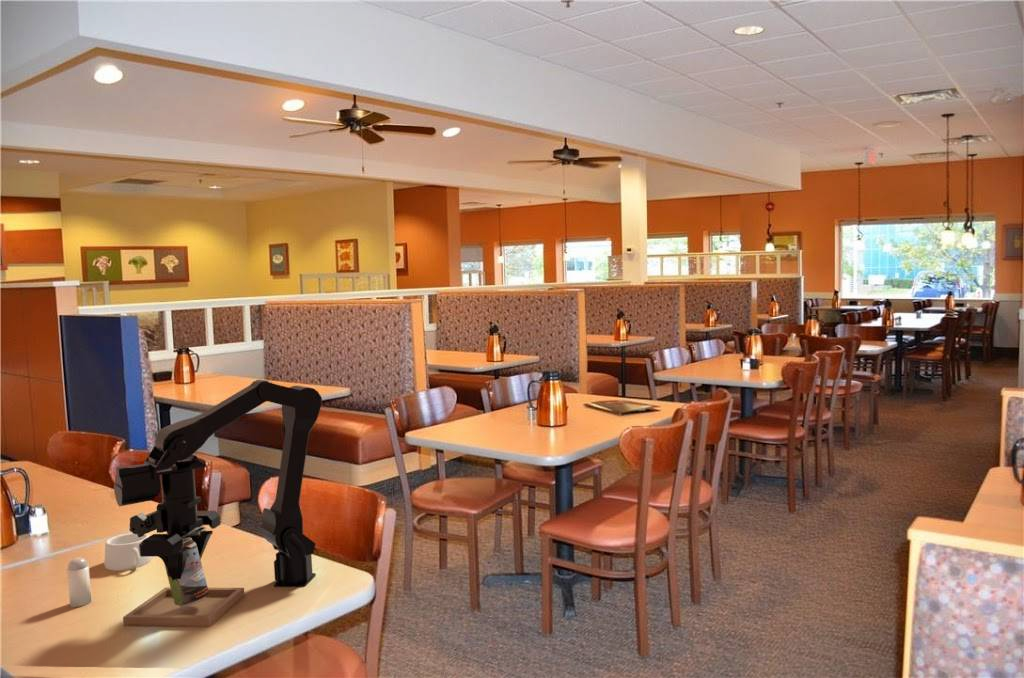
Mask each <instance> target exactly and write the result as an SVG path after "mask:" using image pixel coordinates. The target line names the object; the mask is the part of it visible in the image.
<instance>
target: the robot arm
mask: <svg viewBox="0 0 1024 678" xmlns="http://www.w3.org/2000/svg"><path fill="white" fill-rule="evenodd" d="M266 402H267V403H268V402H269V403H273V404H277V405H281V415H282V420H283V424H284V427H285V428H284V429H285V432H284V438H283V439H284V440H283V447H282V453H281V459H280V465H279V466H280V467H279V471H278V472H279V473H278V480H277V487H276V492H275V493H276V494H275V499H274V502H273V503H272V505H271V506H270V508H265V507H264V508H263V510H262V520H261V521H262V522H261V524H260V526H259V529H261V530H262V536H263V538H264V539H265V540H266V542H268V543H270V544H272V547H273V549H274V550H275V551H278V552H276V553H275V560H274V561H273V568H274V569H273V572H274V581H275V583H274V584H273V587H275V588H304V587H307V585H309V583H311V581H312V580H313V579H315V578H316V576H317V574H316V573H315V572H314V573H313V560H312V558H313V557H312V555H313V554H314V552H315V547H316V543H315V541H313V540H312V539H310V538H309V537H307V536H306V535H305V534H304V517H303V514H302V510H301V506H300V505H301V504H300V499H301V492H302V485H303V479H304V473H305V471H304V470H305V464H306V456H307V453H308V443H309V436H310V432H311V431H312V428H313V427H314V425H315V424H316V423H317V420H318V418H319V415H320V412H321V409H322V404H323V398H322V396H321V394H320V393H319V391H318V390H316V389H315V388H313V387H309V386H303V385H292V386H290V387H288V386H284V385H280V384H276V383H273V382H271V381H270V380H263V379H256V380H253V382H251V383H250V385H247V386H246V387H245V388H243V389H241V390H239V391H237V392H236V393H235V394H232V395H230V396H229V397H227V398H226V399H224V400H222V401H220V402H219V403H218V404H215V405H214V406H212V407H211V408H209V409H208V410H206V411H204V412H202V413H200V414H198V415H196V416H193V417H190V418H186V419H183V420H180V421H177V422H174V423H171V424H169V425H167V426H165V427H162V428H160V430H158V432H157V433H156V436H155V439H154V446H153V448H152V449H150V452H149V454H148V455H147V457H146V458H145V460H144V461H143V462H144V463H141V464H136V465H135V464H134V465H131V466H130V465H127V466H126V465H122V466H116V468H115V470H116V475H115V478H114V484H113V490H114V497H115V500H116V504H117V505H118V507H125V506H129V505H134V504H139V503H140V504H141V503H145V502H151V501H155V498H156V497H158V496H159V495H160V493H161V500H162V501H161V502H159V503H157V505H156V510H154V511H152V512H149V513H148V514H144V513H143V512H140V513H138V514H135V515H133V516H132V517H130V518H129V532H130V533H133V534H137V535H138V537H142V536H144V534H148V533H151V532H154V531H155V530H156V533H152V534H151V535H149V537H148V538H146V539H144V540H143V541H142V542H141V543H140V544H139V554H140V556H141V557H147V556H153V557H158V558H160V559H161V560H162V562H163V564H164V566H165V565H166V567H167V569H168V572H169V574H170V576H171V578H172V580H175V579H181V576H182V573H183V571H184V568H185V563H186V559H187V554H188V550H189V547H183V541H182V540H183V538H188V537H191V538H192V540H193V541H194V542H195V543H196V544H197V548H198V552H199V556H200V560H202V557H203V554H204V552H205V550H206V548H207V545H208V542H209V540H210V538H211V536H212V535H213V532H214V531H213V530H207V529H206V527H204V526H209V527H210V529H216V528H218V527H219V526H220V525H221V523H222V522H221V515H220V514H219V513H218V512H217V511H216V510H198V504H200V503H202V497H201V496H197V493H196V492H197V491H196V479H195V477H196V476H195V470H198V469H201V468H202V469H203V468H206V466H207V465H206V463H205V462H203V461H202V460H200V459H199V457H198V456H197V455H195V453H197V451H198V450H200V449H201V448H202V447H203V446H204V445H205V444H206V442H207V441H209V438H210V437H212V436H213V435H214V434H215V433H217V432H219V431H220V430H222V429H224V428H225V427H227V426H228V425H230V424H232V423H233V422H235V421H236V420H238V419H240V418H241V417H242V416H243V417H244V415H246V414H249V412H251V411H252V410H254V409H256V408H258V407H259V406H260V405H263V404H264V403H266Z"/></svg>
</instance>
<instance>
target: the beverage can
mask: <svg viewBox="0 0 1024 678" xmlns="http://www.w3.org/2000/svg"><path fill="white" fill-rule="evenodd" d="M182 541H183V547H189V550H188V554H187V559H186V563H185V568H184V571H183V573H182V576H181V579H175V580H172V578H171V576H170V574H169V572H168V569H167V567H166V565H165V564H164V568H165V572H166V576H167V580H168V584H169V586H170V588H171V591H172V595H173V599H174V603H175V605H180V607H186V606H190V605H193V604H196V603H199V602H201V601H202V600H204V599H205V598H206V596H207V595H208V593H209V590H208V588H209V587H208V583H207V579H206V576H205V572H204V568H203V563H202V561H201V560H202V559H201V560H200V556H199V552H198V548H197V544H196V543H195V542H194V541H193V540H192V538H191V537H188V538H183V540H182Z"/></svg>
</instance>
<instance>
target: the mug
mask: <svg viewBox="0 0 1024 678" xmlns="http://www.w3.org/2000/svg"><path fill="white" fill-rule="evenodd" d="M149 536H150V534H148V533H146V534H144V536H142V537H138V535H137V534H133V533H132V532H130V533H125V534H119V535H116V536H112V537H111V538H109V539H107V540H106V541H105V543H104V560H103V562H104V568H105V569H106V570H109V571H114V572H115V571H118V572H119V571H120V572H121V571H129V570H133V569H137V568H142V567H144V566H145V565H148V564H149V563H151V562H153V560H154V556H147V557H141V556H140V554H139V544H140V543H141V542H142V541H143V540H144V539H146V538H148V537H149Z"/></svg>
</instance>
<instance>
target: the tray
mask: <svg viewBox="0 0 1024 678" xmlns="http://www.w3.org/2000/svg"><path fill="white" fill-rule="evenodd" d="M208 590H209V593H208V595H207V596H206V598H205V599H204V600H202V601H201V602H199V603H196V604H193V605H190V606H186V607H180V605H175V603H174V599H173V595H172V591H171V588H170V587H167V586H166V587H164V588H162V589H161V590H160V591H158V592H157V593H155V594H154V595H152V596H151V597H150V598H148V599H146V600H145V601H144V602H142V603H141V604H139V605H138V606H137V607H135V608H134V609H132V610H131V611H129V612H128V613H127V614H125V615H124V616H123V617H122V620H123V626H124V627H187V628H188V627H192V628H193V627H197V628H198V627H199V628H201V627H202V628H203V627H204V628H210V627H212V626H213V624H215V622H216V621H218V620H219V619H220V618H221V617H223V615H225V613H227V612H228V611H229V610H230V609H232V608H233V607H234V606H235V605H236V604H237V603H238V602H239V601H241V599H243V598H244V597H245V595H246V594H245V587H208Z"/></svg>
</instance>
